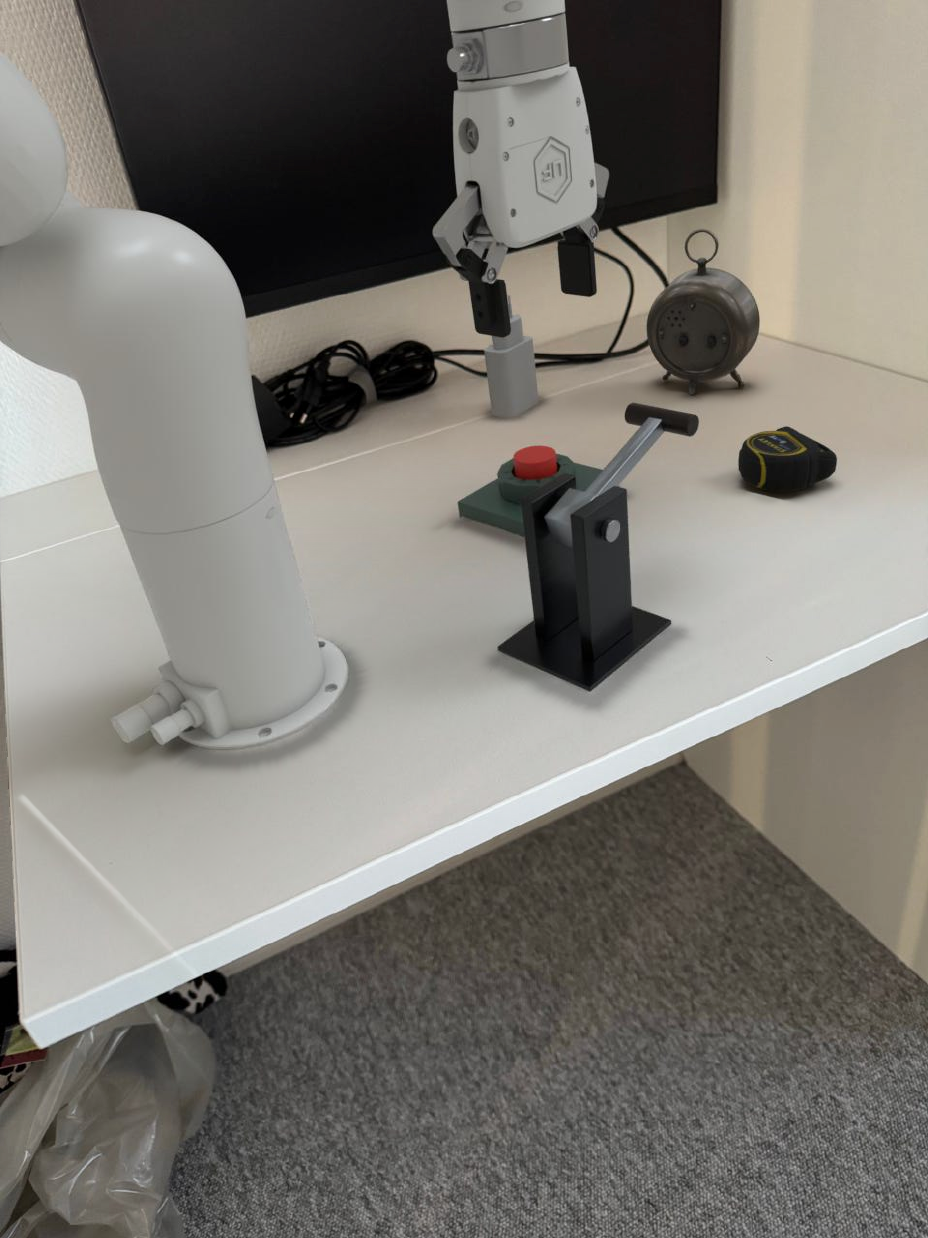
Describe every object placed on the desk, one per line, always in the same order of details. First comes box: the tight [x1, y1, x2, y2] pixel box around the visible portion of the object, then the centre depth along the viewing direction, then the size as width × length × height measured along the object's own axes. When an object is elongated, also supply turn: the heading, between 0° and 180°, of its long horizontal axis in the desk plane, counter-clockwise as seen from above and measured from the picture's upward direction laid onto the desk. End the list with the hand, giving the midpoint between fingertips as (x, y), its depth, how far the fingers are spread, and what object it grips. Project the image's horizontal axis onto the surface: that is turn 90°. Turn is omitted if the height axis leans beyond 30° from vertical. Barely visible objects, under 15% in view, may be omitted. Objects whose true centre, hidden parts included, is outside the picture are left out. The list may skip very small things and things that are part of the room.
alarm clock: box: [646, 228, 761, 396], centre depth 97 cm, size 11×5×16 cm, turn 58°
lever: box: [544, 402, 700, 549], centre depth 61 cm, size 12×5×2 cm, turn 136°
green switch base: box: [457, 453, 620, 538], centre depth 82 cm, size 11×9×4 cm
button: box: [512, 445, 557, 480], centre depth 80 cm, size 4×4×2 cm
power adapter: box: [483, 294, 539, 419], centre depth 100 cm, size 3×5×12 cm, turn 140°
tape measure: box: [737, 426, 838, 493], centre depth 80 cm, size 7×7×4 cm
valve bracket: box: [497, 473, 672, 692], centre depth 62 cm, size 9×8×12 cm
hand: (537, 313), depth 72 cm, fingers open, 9 cm apart
